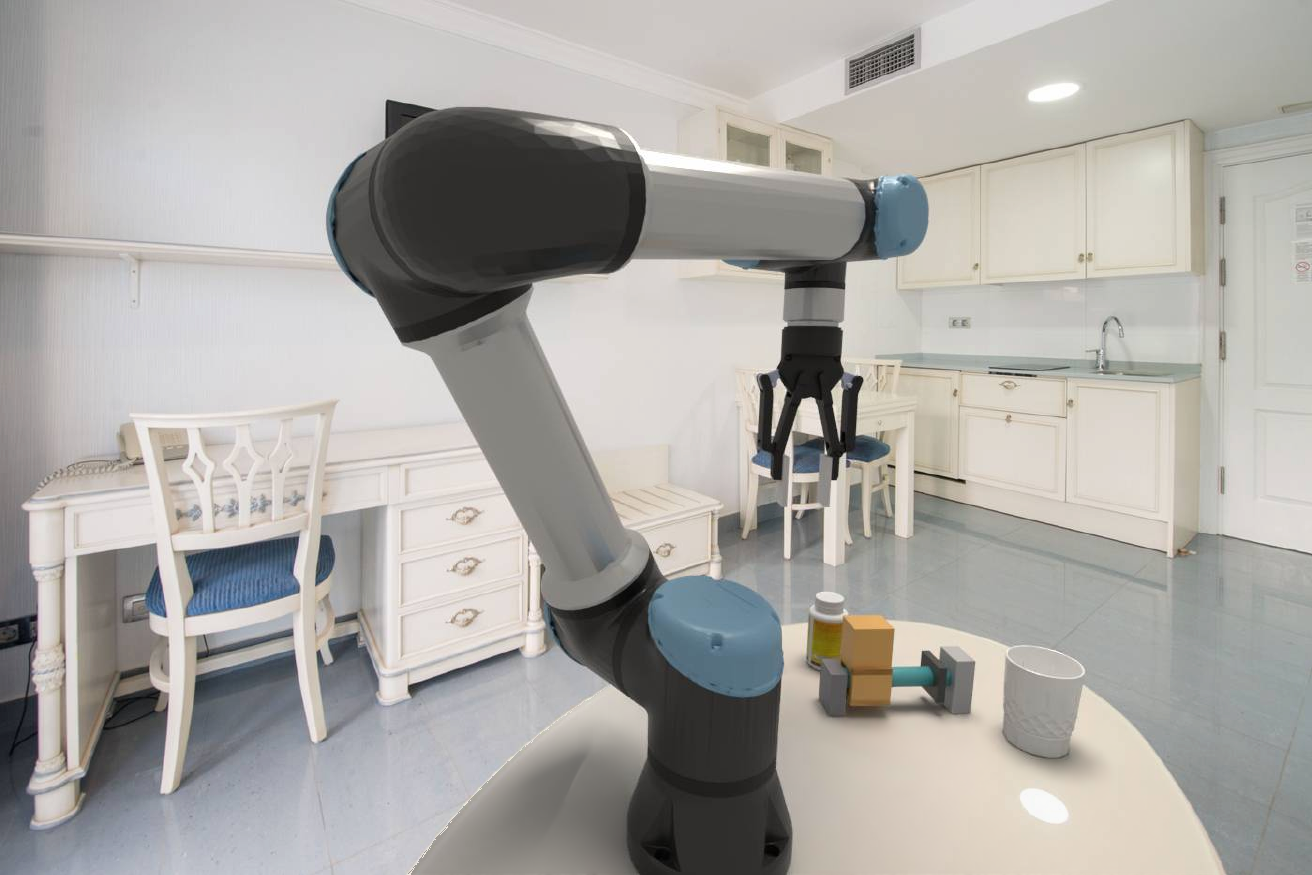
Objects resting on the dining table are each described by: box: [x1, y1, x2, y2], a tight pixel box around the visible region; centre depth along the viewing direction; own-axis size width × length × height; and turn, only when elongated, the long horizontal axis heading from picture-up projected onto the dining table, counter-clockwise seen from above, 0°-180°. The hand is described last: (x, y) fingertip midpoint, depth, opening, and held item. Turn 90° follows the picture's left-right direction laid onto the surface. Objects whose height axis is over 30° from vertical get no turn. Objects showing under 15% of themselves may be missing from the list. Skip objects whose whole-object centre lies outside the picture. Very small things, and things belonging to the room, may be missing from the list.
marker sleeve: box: [839, 614, 896, 707], centre depth 81 cm, size 5×5×10 cm
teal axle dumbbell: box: [818, 645, 976, 718], centre depth 81 cm, size 18×5×7 cm, turn 94°
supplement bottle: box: [805, 591, 850, 671], centre depth 92 cm, size 6×6×10 cm
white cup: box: [1002, 644, 1086, 759], centre depth 75 cm, size 8×8×10 cm
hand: (802, 503), depth 84 cm, fingers open, 5 cm apart
